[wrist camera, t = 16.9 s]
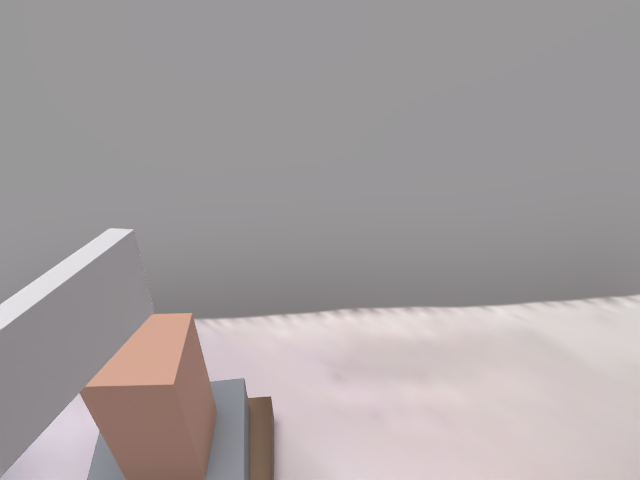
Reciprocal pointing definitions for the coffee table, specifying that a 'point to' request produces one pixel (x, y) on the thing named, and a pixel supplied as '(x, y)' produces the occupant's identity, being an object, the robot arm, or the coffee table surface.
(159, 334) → the terracotta tall block
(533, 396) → the coffee table surface
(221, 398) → the slate top block
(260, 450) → the walnut base block
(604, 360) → the coffee table surface
